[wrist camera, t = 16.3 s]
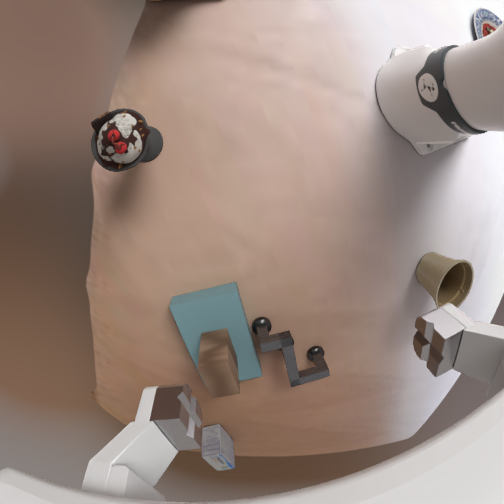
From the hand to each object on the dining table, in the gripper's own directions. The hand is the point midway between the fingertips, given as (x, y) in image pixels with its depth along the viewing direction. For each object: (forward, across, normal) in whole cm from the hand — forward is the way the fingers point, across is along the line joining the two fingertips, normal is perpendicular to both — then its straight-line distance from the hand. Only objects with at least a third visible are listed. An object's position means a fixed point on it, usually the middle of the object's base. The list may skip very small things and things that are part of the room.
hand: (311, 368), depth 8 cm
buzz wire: (+31, -2, +23) cm, 39 cm away
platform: (+31, +9, +19) cm, 37 cm away
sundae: (+31, +11, -12) cm, 35 cm away
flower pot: (+31, -30, +18) cm, 47 cm away
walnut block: (+28, +9, +19) cm, 35 cm away
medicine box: (+31, +18, +47) cm, 59 cm away
